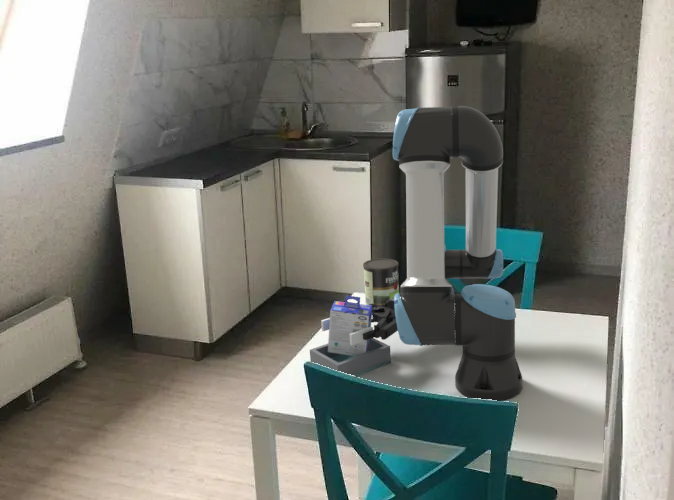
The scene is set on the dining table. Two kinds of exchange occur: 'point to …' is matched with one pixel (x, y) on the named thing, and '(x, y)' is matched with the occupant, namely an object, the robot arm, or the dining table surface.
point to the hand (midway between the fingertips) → (336, 332)
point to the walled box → (353, 358)
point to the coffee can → (380, 281)
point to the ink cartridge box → (348, 326)
